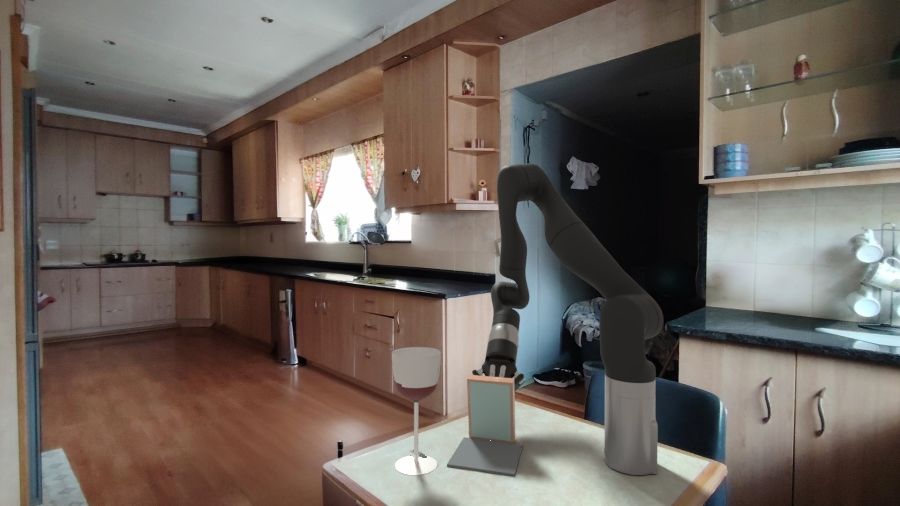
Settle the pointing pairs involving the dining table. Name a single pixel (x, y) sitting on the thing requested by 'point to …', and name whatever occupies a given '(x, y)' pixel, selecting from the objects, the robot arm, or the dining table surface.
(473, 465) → the mat
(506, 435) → the picture frame
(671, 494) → the dining table surface
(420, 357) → the wineglass
